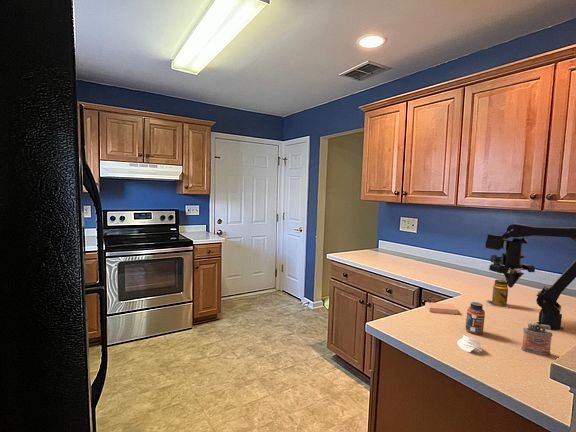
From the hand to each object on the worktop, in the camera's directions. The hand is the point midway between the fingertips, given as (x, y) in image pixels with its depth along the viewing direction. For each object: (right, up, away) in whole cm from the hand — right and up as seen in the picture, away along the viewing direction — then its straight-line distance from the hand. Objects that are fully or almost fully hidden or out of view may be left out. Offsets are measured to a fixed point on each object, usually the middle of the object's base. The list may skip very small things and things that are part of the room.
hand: (510, 287), depth 139 cm
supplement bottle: (-25, -14, -16) cm, 33 cm away
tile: (-22, -11, +5) cm, 25 cm away
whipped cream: (-35, -15, -29) cm, 48 cm away
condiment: (+4, -12, +16) cm, 20 cm away
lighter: (-13, -16, -30) cm, 36 cm away
